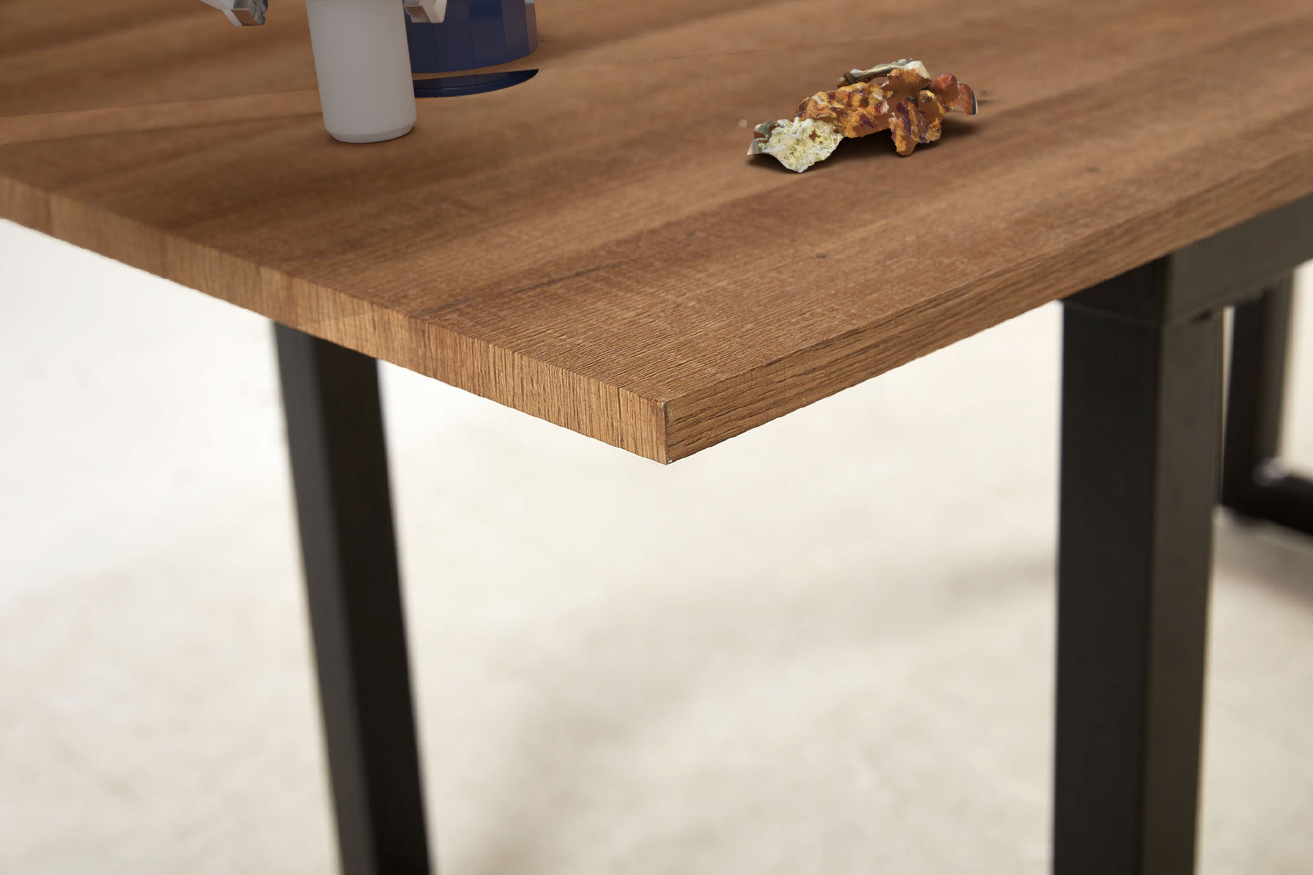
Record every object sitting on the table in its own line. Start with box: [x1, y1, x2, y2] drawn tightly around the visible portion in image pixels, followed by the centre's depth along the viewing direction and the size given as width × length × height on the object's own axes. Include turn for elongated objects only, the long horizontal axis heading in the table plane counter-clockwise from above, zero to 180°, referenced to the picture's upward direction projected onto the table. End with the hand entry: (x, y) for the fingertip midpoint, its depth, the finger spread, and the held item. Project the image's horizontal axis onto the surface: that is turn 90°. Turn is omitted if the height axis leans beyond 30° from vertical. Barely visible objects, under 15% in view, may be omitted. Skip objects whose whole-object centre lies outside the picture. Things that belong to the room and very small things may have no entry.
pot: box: [402, 0, 540, 99], centre depth 91 cm, size 10×10×8 cm
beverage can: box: [305, 0, 418, 144], centre depth 79 cm, size 5×5×12 cm
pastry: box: [746, 57, 979, 173], centre depth 75 cm, size 7×12×4 cm, turn 133°
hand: (341, 13), depth 77 cm, fingers open, 8 cm apart
